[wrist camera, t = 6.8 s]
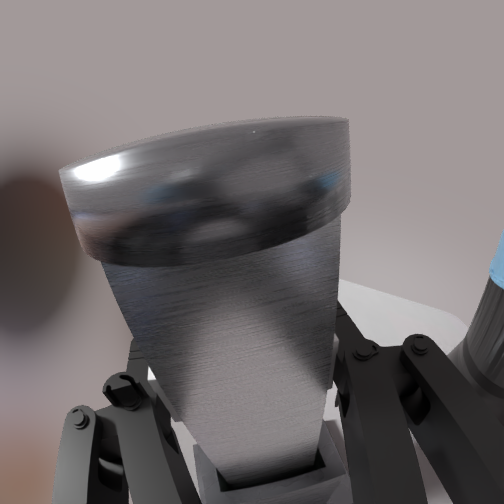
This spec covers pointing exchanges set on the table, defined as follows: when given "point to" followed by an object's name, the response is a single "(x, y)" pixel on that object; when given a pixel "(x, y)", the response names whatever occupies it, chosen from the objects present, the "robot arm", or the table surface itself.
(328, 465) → the jack stand base
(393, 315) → the table surface
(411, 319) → the table surface
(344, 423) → the robot arm
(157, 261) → the column
